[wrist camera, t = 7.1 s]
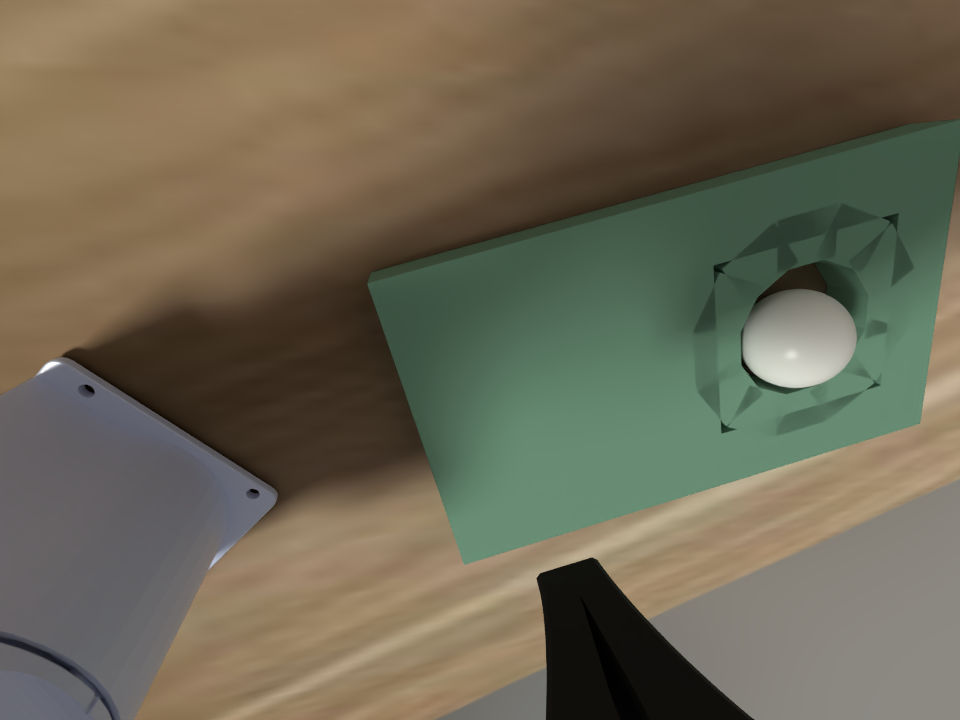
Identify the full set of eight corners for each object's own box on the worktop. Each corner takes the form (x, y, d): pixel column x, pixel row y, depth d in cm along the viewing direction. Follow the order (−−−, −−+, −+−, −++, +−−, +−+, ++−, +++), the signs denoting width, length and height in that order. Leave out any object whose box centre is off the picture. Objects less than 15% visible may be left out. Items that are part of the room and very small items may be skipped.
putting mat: (459, 533, 23) (464, 564, 21) (370, 272, 18) (367, 283, 16) (879, 404, 24) (919, 423, 22) (909, 124, 19) (965, 118, 17)
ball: (848, 296, 20) (741, 291, 22) (879, 285, 16) (747, 281, 18) (834, 390, 20) (730, 378, 22) (862, 399, 17) (734, 384, 18)
